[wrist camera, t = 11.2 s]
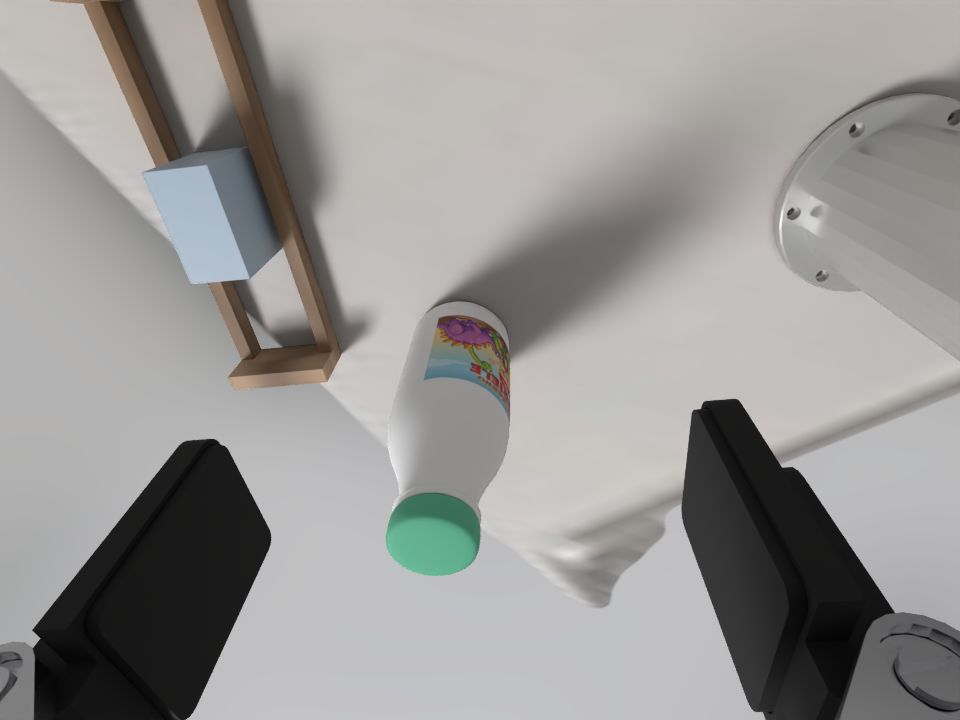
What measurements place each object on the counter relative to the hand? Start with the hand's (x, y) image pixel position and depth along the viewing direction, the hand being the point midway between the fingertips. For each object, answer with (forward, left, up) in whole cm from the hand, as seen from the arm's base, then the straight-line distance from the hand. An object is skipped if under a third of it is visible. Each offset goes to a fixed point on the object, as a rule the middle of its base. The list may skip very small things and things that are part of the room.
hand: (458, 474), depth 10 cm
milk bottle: (+4, +13, -28) cm, 32 cm away
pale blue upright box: (+18, 0, -28) cm, 34 cm away
